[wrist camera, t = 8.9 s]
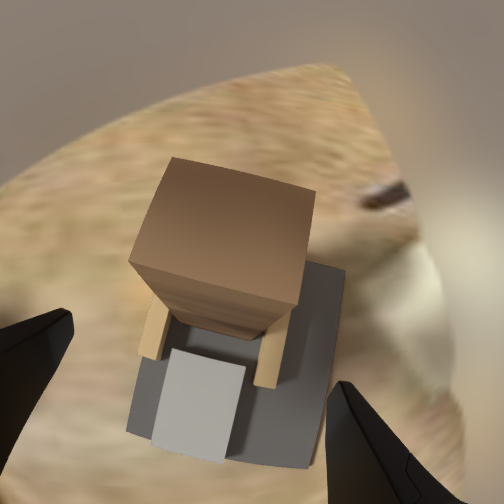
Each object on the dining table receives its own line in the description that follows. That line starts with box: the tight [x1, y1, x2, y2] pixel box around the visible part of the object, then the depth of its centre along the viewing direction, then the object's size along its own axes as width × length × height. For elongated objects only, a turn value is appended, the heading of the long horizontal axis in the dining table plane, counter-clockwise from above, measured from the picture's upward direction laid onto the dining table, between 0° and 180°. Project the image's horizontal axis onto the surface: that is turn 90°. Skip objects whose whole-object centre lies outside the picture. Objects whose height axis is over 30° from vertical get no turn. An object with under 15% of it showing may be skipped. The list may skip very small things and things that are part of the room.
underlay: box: [126, 261, 345, 469], centre depth 18 cm, size 14×12×2 cm
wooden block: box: [128, 157, 316, 341], centre depth 14 cm, size 4×4×12 cm
